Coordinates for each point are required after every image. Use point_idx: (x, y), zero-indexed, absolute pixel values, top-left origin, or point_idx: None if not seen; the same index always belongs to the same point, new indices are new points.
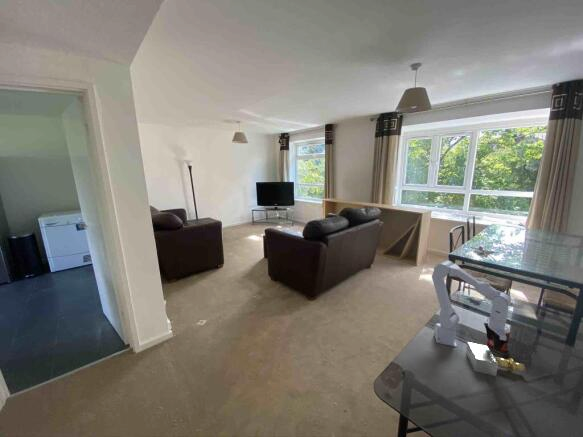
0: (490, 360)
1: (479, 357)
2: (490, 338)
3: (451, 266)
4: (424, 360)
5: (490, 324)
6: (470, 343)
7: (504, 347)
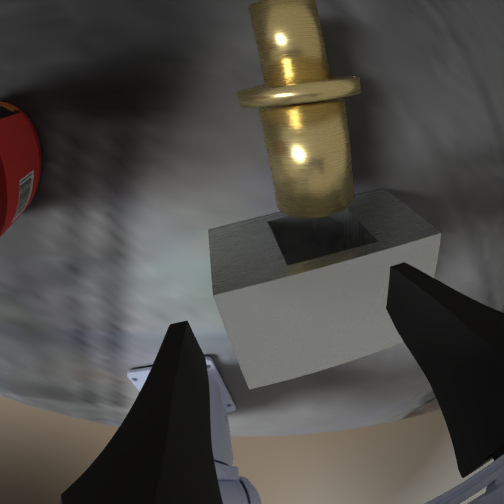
0: None
1: None
2: (197, 352)
3: None
4: (373, 398)
5: None
6: (260, 378)
7: (12, 121)
